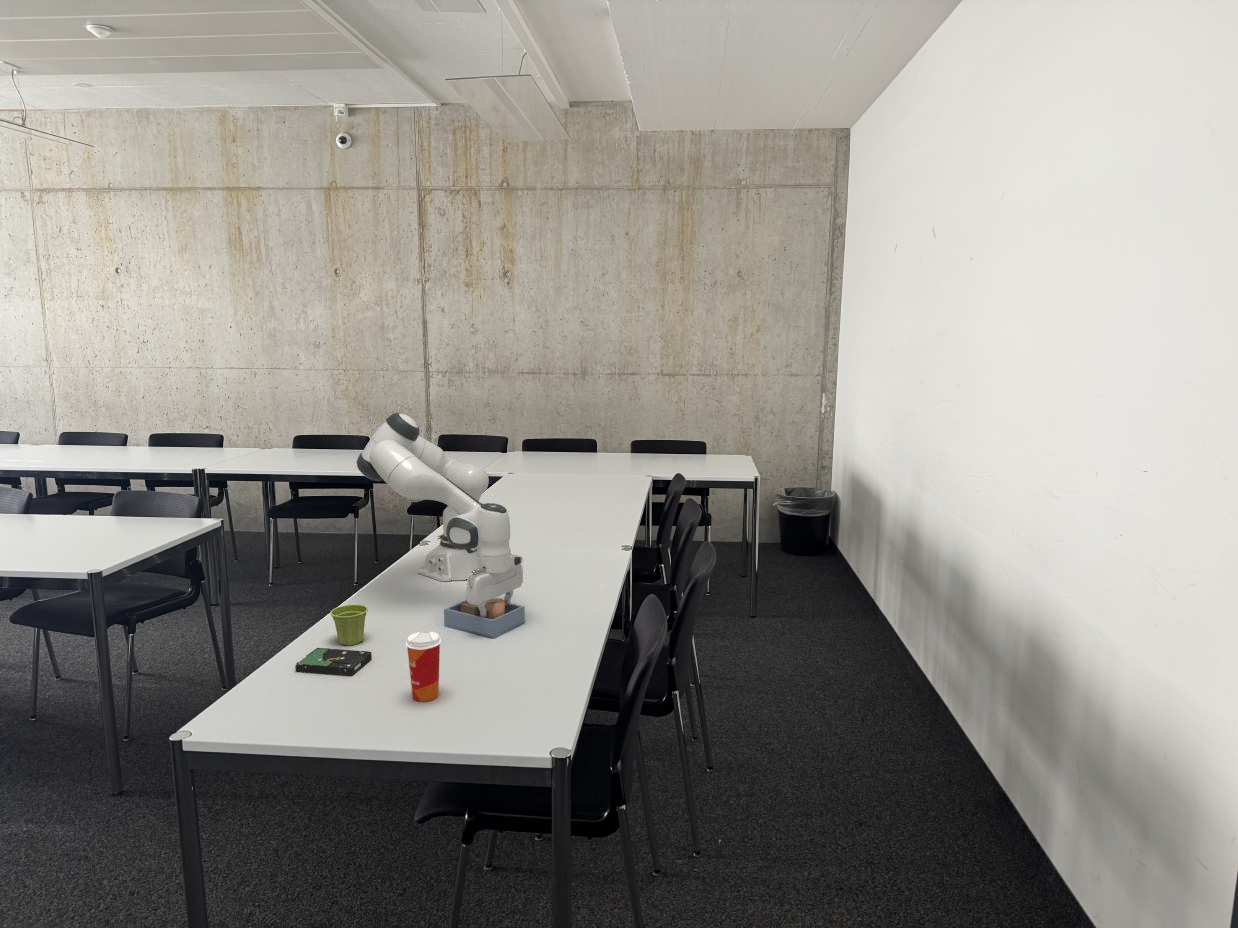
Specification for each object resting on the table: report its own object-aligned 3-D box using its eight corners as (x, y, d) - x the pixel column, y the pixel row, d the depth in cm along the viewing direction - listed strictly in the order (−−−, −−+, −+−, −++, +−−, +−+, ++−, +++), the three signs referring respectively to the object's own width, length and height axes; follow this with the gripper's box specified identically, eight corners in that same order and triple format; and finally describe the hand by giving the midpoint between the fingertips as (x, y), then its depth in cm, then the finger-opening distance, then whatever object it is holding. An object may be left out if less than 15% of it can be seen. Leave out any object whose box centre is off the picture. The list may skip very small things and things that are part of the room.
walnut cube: (474, 624, 217) (474, 607, 216) (461, 621, 220) (460, 604, 219) (486, 619, 221) (486, 602, 221) (473, 615, 224) (472, 599, 223)
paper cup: (411, 689, 178) (408, 630, 176) (445, 688, 179) (443, 629, 177) (404, 704, 171) (402, 644, 168) (440, 703, 171) (438, 643, 169)
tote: (444, 626, 217) (443, 609, 217) (477, 611, 229) (476, 595, 228) (493, 638, 208) (492, 620, 208) (524, 623, 220) (524, 606, 219)
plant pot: (334, 650, 200) (333, 618, 199) (329, 638, 208) (328, 607, 207) (372, 644, 204) (370, 612, 203) (366, 632, 212) (364, 602, 211)
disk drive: (372, 661, 195) (317, 657, 197) (372, 650, 195) (316, 646, 197) (352, 679, 185) (294, 674, 187) (352, 667, 185) (294, 662, 187)
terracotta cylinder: (497, 629, 213) (496, 605, 212) (483, 626, 216) (482, 602, 215) (508, 624, 217) (508, 600, 216) (494, 621, 220) (494, 597, 219)
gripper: (478, 574, 203) (479, 624, 206) (526, 555, 221) (527, 602, 223) (459, 570, 207) (461, 620, 209) (508, 552, 224) (509, 598, 226)
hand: (495, 610), depth 216 cm, fingers open, 8 cm apart
